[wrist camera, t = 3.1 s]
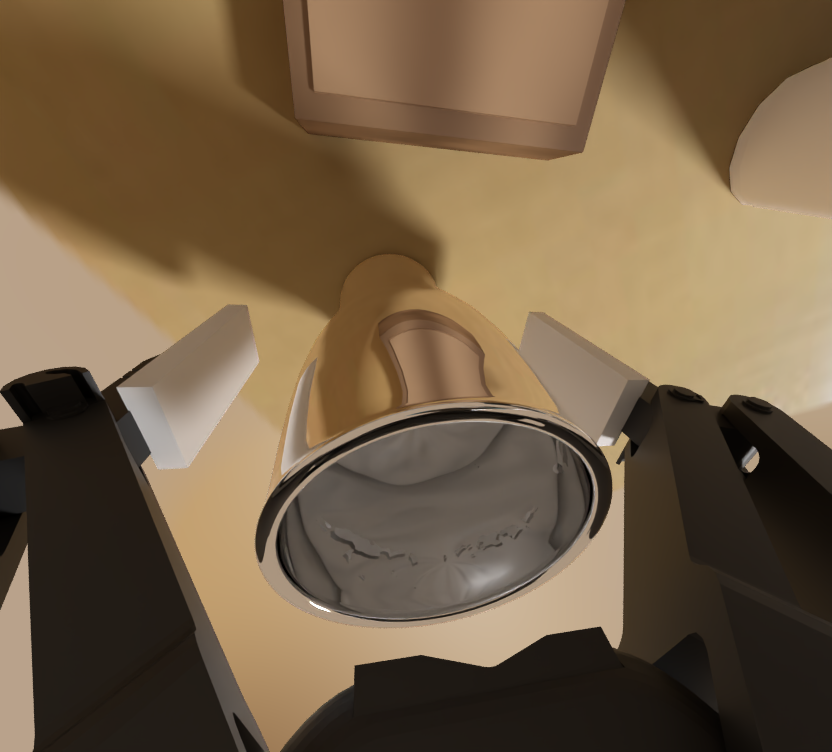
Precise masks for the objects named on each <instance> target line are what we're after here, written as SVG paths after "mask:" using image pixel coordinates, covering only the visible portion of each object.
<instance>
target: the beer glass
mask: <svg viewBox="0 0 832 752" xmlns="http://www.w3.org/2000/svg"><path fill="white" fill-rule="evenodd" d="M611 499H612V477H611V472H610V468H609V465H608V462H607V460H606V458H605V456H604V454H603V452H602V451H601V449H600V448H599V446H598V445H597V444H596V443H595V442H594V440H593V439H592V438H591V437H590V436H589V435H588V434H587V433H585V432H584V431H583V430H582V429H581V428H580V427H579V425H578V424H577V423H576V422H575V420H574V419H573V418H572V417H571V415H570V414H569V413H568V412H567V410H566V409H565V408H564V406H563V405H562V404H561V402H560V401H559V400H558V398H557V397H556V396H555V394H554V393H553V392H552V390H551V389H550V388H549V386H548V385H547V384H546V383H545V381H544V380H543V379H542V377H541V376H540V375H539V374H538V372H537V371H536V370H535V369H534V367H533V366H532V365H531V364H530V362H529V361H528V360H527V359H526V357H525V356H524V355H523V354H522V353H521V352H520V351H519V350H518V349H517V347H516V346H515V345H514V344H513V343H512V342H511V341H510V340H509V339H508V338H507V337H506V335H505V334H504V333H503V332H502V331H501V330H500V329H499V328H498V327H496V326H495V325H494V324H493V323H492V322H491V321H489V320H488V319H487V318H486V317H485V316H484V315H482V314H481V313H480V312H479V311H478V310H476V309H475V308H474V307H472V306H471V305H469V304H468V303H466V302H465V301H463V300H461V299H459V298H457V297H455V296H453V295H452V294H450V293H448V292H446V291H444V290H441V289H439V288H437V286H436V284H435V282H434V280H433V278H432V276H431V275H430V273H429V272H428V271H427V270H426V269H425V268H424V267H423V266H422V265H421V264H419V263H418V262H416V261H415V260H413V259H411V258H409V257H406V256H402V255H398V254H382V255H377V256H374V257H371V258H368V259H366V260H365V261H363V262H361V263H360V264H359V265H357V266H356V267H355V268H354V269H353V270H352V271H351V272H350V274H349V275H348V277H347V278H346V280H345V282H344V284H343V287H342V290H341V295H340V309H339V310H338V311H337V312H336V313H335V315H334V316H333V317H332V318H331V319H330V321H329V322H328V323H327V325H326V326H325V327H324V329H323V330H322V331H321V333H320V334H319V335H318V337H317V338H316V340H315V342H314V344H313V345H312V347H311V349H310V352H309V354H308V356H307V358H306V360H305V362H304V364H303V366H302V369H301V371H300V373H299V376H298V379H297V382H296V385H295V388H294V391H293V394H292V397H291V400H290V403H289V406H288V410H287V413H286V417H285V421H284V425H283V429H282V433H281V437H280V441H279V445H278V450H277V454H276V459H275V463H274V468H273V472H272V477H271V481H270V485H269V489H268V493H267V498H266V501H265V504H264V506H263V508H262V511H261V513H260V516H259V519H258V522H257V526H256V531H255V554H256V559H257V562H258V565H259V568H260V570H261V572H262V574H263V576H264V578H265V579H266V581H267V582H268V584H269V585H270V586H271V587H272V588H273V589H274V590H275V592H276V593H277V594H278V595H279V596H281V597H282V598H283V599H285V600H286V601H287V602H289V603H290V604H292V605H293V606H295V607H297V608H299V609H300V610H302V611H305V612H307V613H309V614H311V615H314V616H317V617H319V618H322V619H325V620H328V621H332V622H336V623H341V624H345V625H351V626H358V627H369V628H409V627H419V626H428V625H433V624H439V623H445V622H450V621H455V620H458V619H462V618H466V617H470V616H474V615H477V614H480V613H483V612H486V611H489V610H492V609H494V608H497V607H500V606H502V605H504V604H506V603H509V602H511V601H513V600H516V599H518V598H520V597H522V596H524V595H526V594H528V593H529V592H531V591H533V590H535V589H536V588H538V587H540V586H542V585H543V584H545V583H546V582H548V581H549V580H551V579H552V578H554V577H555V576H556V575H557V574H559V573H560V572H562V571H563V570H564V569H565V568H567V567H568V566H569V565H570V564H571V563H572V562H573V561H574V560H576V559H577V558H578V557H579V555H581V553H582V552H583V551H584V550H585V549H586V548H587V547H588V546H589V544H590V543H591V542H592V540H593V539H594V538H595V536H596V535H597V533H598V532H599V530H600V529H601V527H602V525H603V523H604V521H605V519H606V516H607V514H608V511H609V508H610V504H611Z"/></svg>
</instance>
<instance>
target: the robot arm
mask: <svg viewBox="0 0 832 752" xmlns="http://www.w3.org/2000/svg"><path fill="white" fill-rule="evenodd" d="M519 351H520V352H521V353H522V354H523V355H524V356H525V357H526V359H527V360H528V361H529V362H530V364H531V365H532V366H533V367H534V369H535V370H536V371H537V372H538V374H539V375H540V376H541V377H542V379H543V380H544V381H545V383H546V384H547V385H548V386H549V388H550V389H551V390H552V392H553V393H554V394H555V396H556V397H557V398H558V400H559V401H560V402H561V404H562V405H563V406H564V408H565V409H566V410H567V412H568V413H569V414H570V415H571V417H572V418H573V419H574V420H575V422H576V423H577V424H578V425H579V427H580V428H581V429H582V430H583V431H584V432H585V433H587V434H588V435H589V436H590V437H591V438H592V439H593V440H594V442H595V443H596V444H597V445H598V446H611V445H615V443H616V442H617V440H618V438H619V436H620V434H621V432H623V433H624V434H625V435H626V436H628V437H629V438H630V439H629V440H628V442H627V444H626V446H625V448H624V449H623V451H622V453H621V455H620V457H619V458H618V460H617V462H616V464H619V465H620V463H621V462H622V461H625V477H624V491H625V492H624V601H623V603H624V604H623V605H624V608H623V614H624V615H623V634H622V639H621V642H620V645H619V647H618V649H615V648H612V647H611V645H610V643H609V641H608V639H607V637H606V635H605V634H604V632H603V630H602V628H601V627H595V628H589V629H583V630H576V631H570V632H564V633H557V634H552V635H546V636H544V637H543V638H541V639H539V640H538V641H536V642H535V643H533V644H531V645H530V646H528V647H526V648H525V649H523V650H521V651H520V652H518V653H517V654H515V655H513V656H512V657H510V658H508V659H507V660H505V661H504V662H502V663H500V664H499V665H497V666H494V667H482V666H476V665H471V664H466V663H461V662H455V661H450V660H444V659H439V658H434V657H429V656H423V655H419V656H413V657H406V658H400V659H394V660H387V661H381V662H375V663H369V664H362V665H356V666H355V673H354V674H355V675H354V685H353V686H351V687H350V688H348V689H346V690H344V691H342V692H340V693H338V694H337V695H336V696H334V697H333V698H332V699H330V700H329V701H328V702H326V703H325V704H324V705H322V706H321V707H320V708H319V709H318V710H317V711H316V712H315V713H314V714H313V715H311V717H309V718H308V719H307V720H306V721H305V722H304V723H303V725H302V726H301V727H300V728H299V729H298V730H297V731H296V732H295V734H294V735H293V736H292V737H291V738H290V740H289V741H288V742H287V743H286V745H285V746H284V747H283V749H282V750H281V751H280V752H832V450H831V449H830V448H829V447H828V446H827V445H825V444H824V443H823V442H821V441H820V440H819V439H817V438H816V437H815V436H813V435H812V434H811V433H810V432H808V431H807V430H806V429H805V428H803V427H802V426H801V425H799V424H798V423H797V422H796V421H794V420H793V419H792V418H791V417H789V416H788V415H787V414H785V413H784V412H783V411H781V410H780V409H778V408H776V407H775V406H772V405H771V404H770V403H768V402H767V401H764V400H761V399H758V398H755V397H747V396H742V395H730V397H729V398H728V399H727V401H726V402H725V404H724V405H723V406H722V407H717V406H711V405H709V403H708V402H707V401H706V400H705V398H703V397H702V396H701V395H698V394H697V393H694V392H693V391H691V390H689V389H686V388H683V387H678V386H673V385H661V386H659V387H657V386H655V385H654V384H652V383H651V382H649V379H648V378H646V377H645V376H643V375H641V374H640V373H638V372H637V371H635V370H634V369H632V368H630V367H629V366H627V365H626V364H624V363H622V362H621V361H619V360H618V359H616V358H615V357H613V356H611V355H610V354H608V353H607V352H605V351H604V350H602V349H600V348H599V347H597V346H596V345H594V344H592V343H591V342H589V341H588V340H586V339H585V338H583V337H581V336H580V335H578V334H577V333H575V332H574V331H572V330H570V329H569V328H567V327H566V326H564V325H562V324H561V323H559V322H558V321H556V320H555V319H553V318H551V317H550V316H548V315H547V314H545V313H544V312H529V314H528V318H527V322H526V325H525V329H524V333H523V337H522V340H521V344H520V348H519ZM258 363H259V358H258V353H257V348H256V344H255V339H254V335H253V330H252V325H251V321H250V316H249V312H248V307H247V305H226V306H225V307H224V308H222V309H221V310H220V311H218V312H217V313H216V314H214V315H213V316H212V317H210V318H209V319H208V320H206V321H205V322H204V323H202V324H201V325H200V326H198V327H197V328H195V329H194V330H193V331H191V332H190V333H189V334H187V335H186V336H185V337H183V338H182V339H181V340H179V341H178V342H177V343H175V344H174V345H173V346H171V347H170V348H169V349H167V350H166V351H165V352H163V353H162V354H160V355H157V356H155V357H153V358H150V359H148V360H145V361H143V362H142V363H140V364H139V365H138V366H136V367H135V368H133V369H132V371H129V372H128V373H126V374H125V375H124V376H123V378H120V379H118V380H117V381H115V382H114V383H113V384H111V385H110V386H108V387H107V388H106V389H104V390H103V391H101V392H100V390H99V388H98V387H97V384H96V383H95V381H94V379H93V377H92V375H91V373H90V372H89V371H88V370H87V369H86V368H81V367H60V368H54V369H48V370H44V371H39V372H36V373H32V374H28V375H26V376H23V377H20V378H18V379H15V380H13V381H11V382H10V383H8V384H6V385H5V386H3V388H2V389H1V390H0V393H1V394H2V396H3V397H4V398H5V400H6V401H7V402H8V404H9V405H10V406H11V408H12V409H13V410H14V412H15V413H16V414H17V416H18V417H19V418H20V420H21V421H22V422H23V426H19V427H13V428H7V429H2V430H0V609H1V607H2V604H3V602H4V600H5V597H6V594H7V592H8V590H9V587H10V584H11V582H12V580H13V578H14V575H15V573H16V570H17V568H18V565H19V563H20V560H21V558H22V555H23V553H24V550H25V548H26V546H27V543H28V566H29V592H30V619H31V643H32V644H31V645H32V670H33V696H34V697H33V698H34V723H35V740H34V750H33V752H270V751H269V749H268V747H267V745H266V742H265V740H264V738H263V736H262V734H261V731H260V729H259V728H258V725H257V723H256V721H255V719H254V717H253V715H252V713H251V711H250V710H249V708H248V706H247V704H246V702H245V700H244V697H243V695H242V693H241V691H240V689H239V686H238V684H237V682H236V680H235V678H234V675H233V673H232V670H231V668H230V666H229V664H228V661H227V659H226V657H225V654H224V652H223V650H222V648H221V645H220V643H219V641H218V638H217V636H216V634H215V632H214V629H213V627H212V625H211V622H210V620H209V618H208V616H207V613H206V611H205V609H204V606H203V604H202V602H201V600H200V597H199V595H198V593H197V591H196V588H195V586H194V584H193V581H192V579H191V577H190V574H189V572H188V570H187V568H186V566H185V563H184V561H183V559H182V556H181V554H180V552H179V549H178V547H177V545H176V542H175V540H174V538H173V536H172V534H171V531H170V529H169V527H168V524H167V522H166V520H165V517H164V515H163V513H162V511H161V509H160V506H159V504H158V501H157V499H156V497H155V495H154V492H153V490H152V488H151V485H150V483H149V481H148V479H147V477H146V474H145V472H144V470H143V469H142V467H141V464H142V463H143V462H144V461H145V460H146V458H147V457H148V456H149V455H151V457H152V458H153V460H154V462H155V464H156V466H157V468H158V469H177V468H188V467H189V466H190V464H191V463H192V461H193V460H194V458H195V457H196V455H197V454H198V452H199V451H200V449H201V448H202V446H203V445H204V443H205V442H206V440H207V439H208V437H209V436H210V434H211V433H212V431H213V430H214V428H215V427H216V425H217V424H218V422H219V421H220V420H221V418H222V416H223V415H224V414H225V412H226V411H227V409H228V408H229V406H230V405H231V403H232V402H233V400H234V399H235V397H236V396H237V394H238V393H239V391H240V390H241V388H242V387H243V385H244V384H245V382H246V381H247V379H248V378H249V376H250V375H251V373H252V372H253V370H254V369H255V367H256V366H257V364H258ZM757 452H758V453H759V457H760V458H759V463H758V465H757V466H756V468H755V469H754V470H753V471H752V472H751V473H750V472H748V470H747V469H746V468H745V466H746V464H747V463H748V462H749V461H750V460H751V459H752V457H753V456H754V455H755V454H756V453H757Z"/></svg>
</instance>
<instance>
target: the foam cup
mask: <svg viewBox="0 0 832 752" xmlns="http://www.w3.org/2000/svg"><path fill="white" fill-rule="evenodd" d="M729 172H730V185H731V192H732V193H733V195H734V196H735V197H736V198H737V199H738V200H739V201H740V202H741V203H742V205H752V206H753V207H758V208H764V209H771V210H777V211H783V212H790V213H796V214H802V215H809V216H815V217H821V218H828V219H832V57H831V58H829V59H827V60H825V61H823V62H821V63H819V64H815V65H813V66H811V67H809V68H807V69H805V70H803V71H801V72H799V73H797V74H794V75H792V76H790V77H788V78H786V79H785V80H784V81H783V82H782V83H781V84H780V85H779V86H778V87H777V88H776V89H775V90H774V91H773V92H772V93H771V94H770V95H769V96H768V97H767V98H766V99H765V100H764V101H763V102H762V103H761V104H760V105H759V106H758V108H757V109H756V111H755V112H754V114H753V116H752V117H751V119H750V120H749V122H748V124H747V125H746V127H745V128H744V130H743V132H742V133H741V135H740V136H739V139H738V142H737V145H736V148H735V151H734V155H733V158H732V161H731V164H730V168H729Z"/></svg>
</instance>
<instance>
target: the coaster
mask: <svg viewBox="0 0 832 752" xmlns="http://www.w3.org/2000/svg"><path fill="white" fill-rule="evenodd" d="M625 1H626V0H283V6H284V16H285V26H286V35H287V45H288V55H289V65H290V74H291V84H292V94H293V103H294V113H295V119H296V120H297V121H298V122H299V123H300V125H301V126H302V127H303V128H304V129H305V130H306V131H307V133H308V134H315V135H324V136H333V137H342V138H351V139H360V140H369V141H378V142H387V143H396V144H405V145H414V146H423V147H432V148H441V149H450V150H459V151H468V152H477V153H486V154H495V155H504V156H513V157H522V158H531V159H540V160H551V159H556V158H560V157H564V156H569V155H573V154H578V153H582V152H583V151H584V147H585V143H586V140H587V136H588V133H589V129H590V126H591V122H592V119H593V115H594V111H595V108H596V104H597V101H598V97H599V94H600V90H601V87H602V83H603V79H604V76H605V72H606V69H607V65H608V62H609V58H610V55H611V51H612V47H613V44H614V40H615V37H616V33H617V30H618V26H619V23H620V19H621V15H622V12H623V8H624V5H625Z"/></svg>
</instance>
